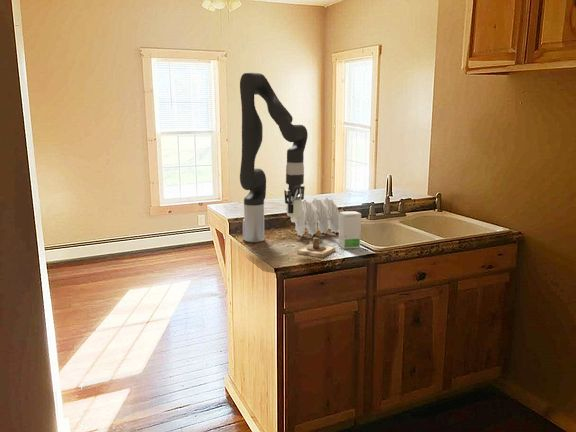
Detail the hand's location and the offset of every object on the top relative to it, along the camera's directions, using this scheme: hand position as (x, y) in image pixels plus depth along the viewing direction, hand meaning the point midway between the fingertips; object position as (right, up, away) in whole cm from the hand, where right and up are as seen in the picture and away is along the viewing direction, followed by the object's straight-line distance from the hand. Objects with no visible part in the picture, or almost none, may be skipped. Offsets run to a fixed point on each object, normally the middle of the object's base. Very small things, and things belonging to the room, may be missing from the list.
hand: (294, 211), depth 217 cm
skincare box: (+25, -16, +8) cm, 30 cm away
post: (+9, -17, 0) cm, 20 cm away
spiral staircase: (+11, -11, +30) cm, 34 cm away
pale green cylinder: (0, -2, 0) cm, 2 cm away
